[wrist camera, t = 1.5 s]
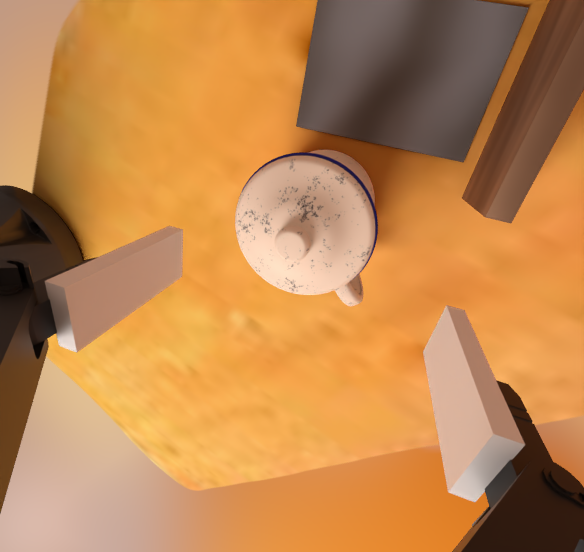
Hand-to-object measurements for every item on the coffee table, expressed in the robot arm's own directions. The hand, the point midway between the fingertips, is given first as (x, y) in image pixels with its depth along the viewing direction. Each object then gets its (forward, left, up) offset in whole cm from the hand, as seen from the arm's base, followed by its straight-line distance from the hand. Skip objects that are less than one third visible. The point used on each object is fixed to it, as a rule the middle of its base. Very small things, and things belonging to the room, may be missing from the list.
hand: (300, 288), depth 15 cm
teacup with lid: (0, 0, -14) cm, 14 cm away
